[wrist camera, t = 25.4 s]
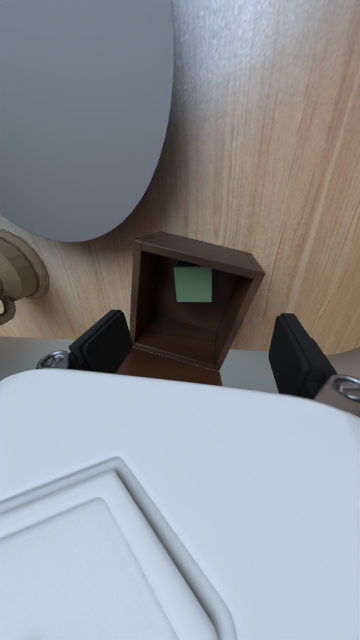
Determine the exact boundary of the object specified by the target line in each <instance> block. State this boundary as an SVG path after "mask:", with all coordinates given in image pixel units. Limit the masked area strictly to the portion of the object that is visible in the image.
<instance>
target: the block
mask: <svg viewBox="0 0 360 640" xmlns="http://www.w3.org/2000/svg"><path fill="white" fill-rule="evenodd" d="M174 277H175V287H176V297H177V302H212V295H213V269H212V268H208V267H204V266H201V265H197V264H193V263H189V262H185V261H181V260H179V262H178V263H177V264H176V265H175V267H174Z"/></svg>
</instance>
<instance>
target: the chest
mask: <svg viewBox="0 0 360 640" xmlns="http://www.w3.org/2000/svg"><path fill="white" fill-rule="evenodd" d="M179 260H181V261H185V262H189V263H193V264H197V265H201V266H204V267H208V268H212V269H213V295H212V302H177V297H176V287H175V277H174V267H175V265H176V264H177V263H178V262H179ZM264 275H265V272H264V271H263V269H262V268H261V266H260V265H259V264H258V262H257V261H256V259H255V258H254V257H253V255H252V254H251V253H247V252H243V251H239V250H235V249H231V248H227V247H223V246H219V245H215V244H211V243H207V242H203V241H199V240H195V239H191V238H187V237H183V236H179V235H175V234H170V233H166V232H162V231H159V232H156V233H153V234H150V235H147V236H144V237H141V238H138V239H135V240H134V250H133V271H132V291H131V312H130V336H131V340H132V343H133V347H135V348H139V349H142V350H146V351H149V352H153V353H156V354H160V355H163V356H166V357H170V358H173V359H177V360H180V361H184V362H187V363H191V364H194V365H198V366H201V367H205V368H208V369H211V370H215V371H219V370H220V368H221V366H222V364H223V362H224V360H225V358H226V355H227V353H228V351H229V349H230V347H231V345H232V343H233V341H234V339H235V336H236V334H237V332H238V330H239V328H240V326H241V324H242V322H243V320H244V317H245V315H246V313H247V311H248V309H249V307H250V305H251V303H252V301H253V299H254V296H255V294H256V292H257V290H258V288H259V286H260V284H261V282H262V280H263V277H264Z"/></svg>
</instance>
